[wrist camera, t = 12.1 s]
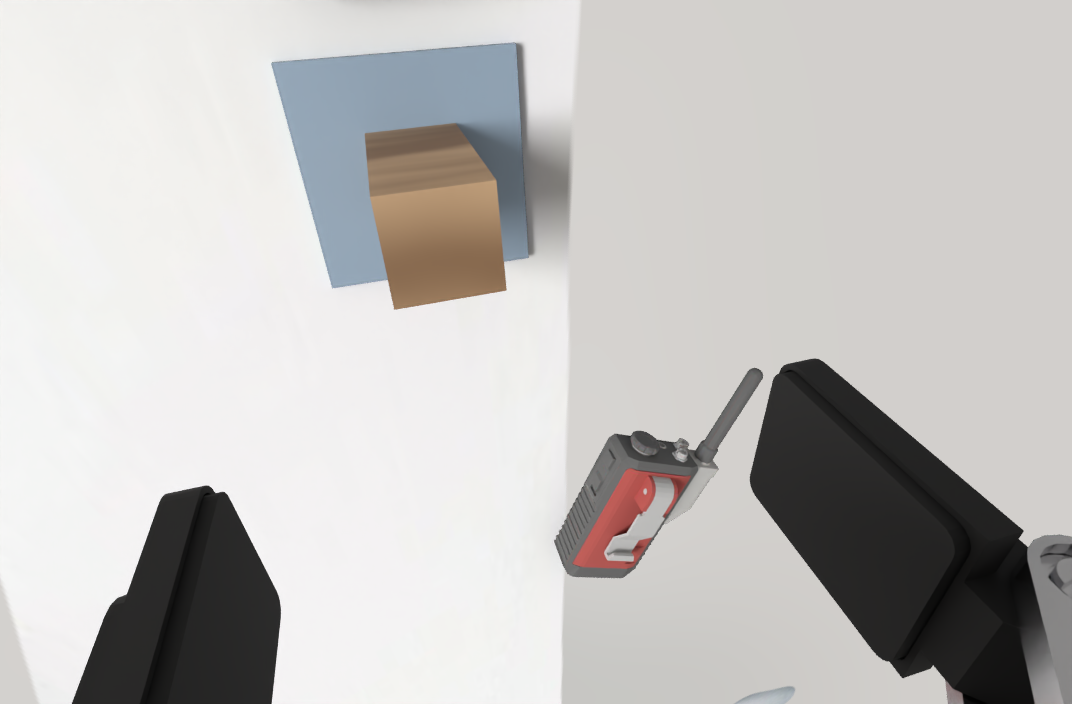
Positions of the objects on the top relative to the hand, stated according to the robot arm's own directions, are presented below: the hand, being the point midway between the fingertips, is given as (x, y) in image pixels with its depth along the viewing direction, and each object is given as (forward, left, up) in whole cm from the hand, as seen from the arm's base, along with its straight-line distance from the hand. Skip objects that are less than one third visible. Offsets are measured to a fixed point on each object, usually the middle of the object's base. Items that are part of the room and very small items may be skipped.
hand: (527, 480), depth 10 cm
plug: (0, 0, -20) cm, 20 cm away
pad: (0, 0, -21) cm, 21 cm away
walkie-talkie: (+23, +13, -21) cm, 34 cm away
